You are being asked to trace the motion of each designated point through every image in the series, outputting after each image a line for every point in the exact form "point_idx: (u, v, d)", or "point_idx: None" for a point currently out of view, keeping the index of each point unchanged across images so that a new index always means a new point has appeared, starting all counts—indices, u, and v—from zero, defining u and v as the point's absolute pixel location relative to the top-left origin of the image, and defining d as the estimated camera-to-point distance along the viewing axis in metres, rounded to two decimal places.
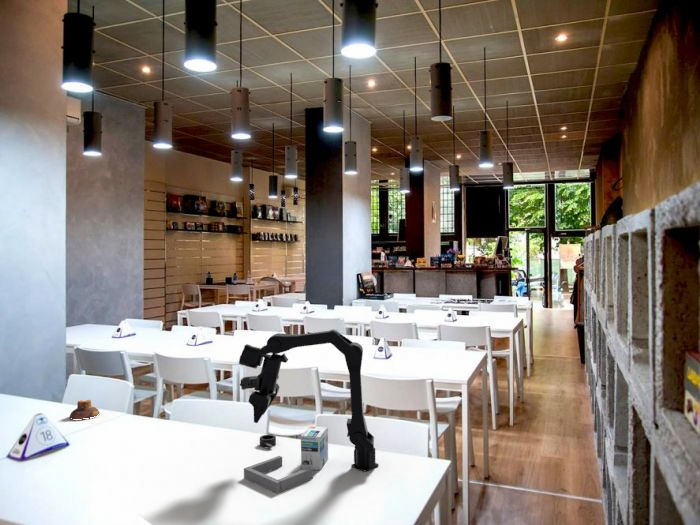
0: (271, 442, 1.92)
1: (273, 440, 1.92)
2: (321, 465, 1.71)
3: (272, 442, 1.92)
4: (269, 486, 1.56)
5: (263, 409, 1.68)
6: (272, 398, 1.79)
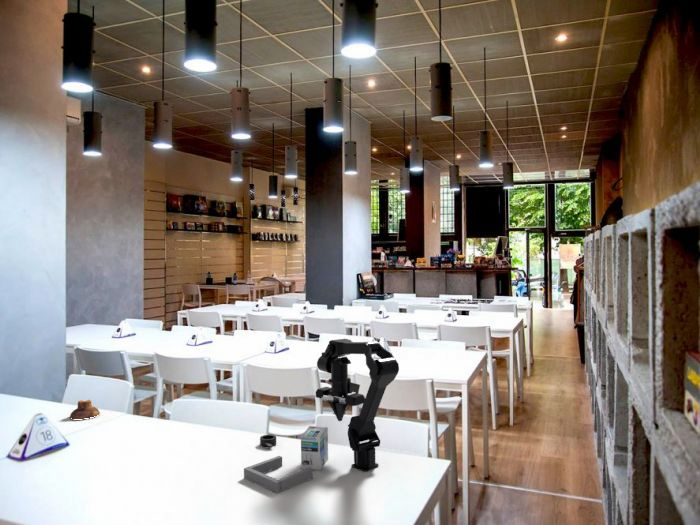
0: (271, 442, 1.92)
1: (273, 440, 1.92)
2: (321, 465, 1.71)
3: (272, 442, 1.92)
4: (269, 486, 1.56)
5: None
6: None
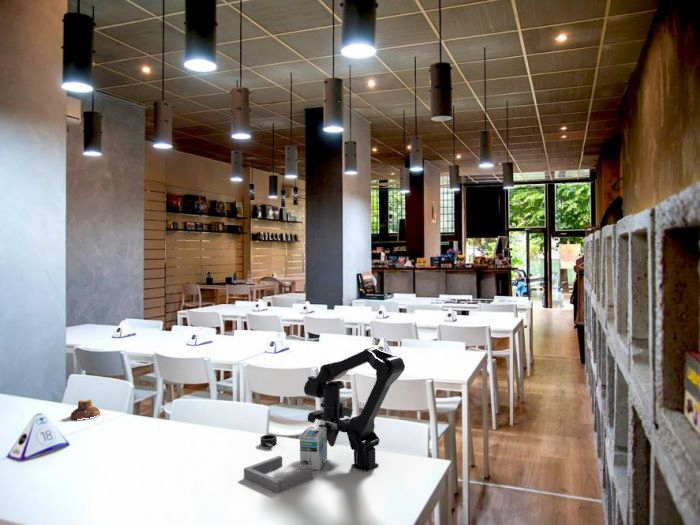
0: (272, 442, 1.92)
1: (274, 440, 1.92)
2: (320, 465, 1.71)
3: (273, 442, 1.92)
4: (269, 486, 1.56)
5: None
6: None
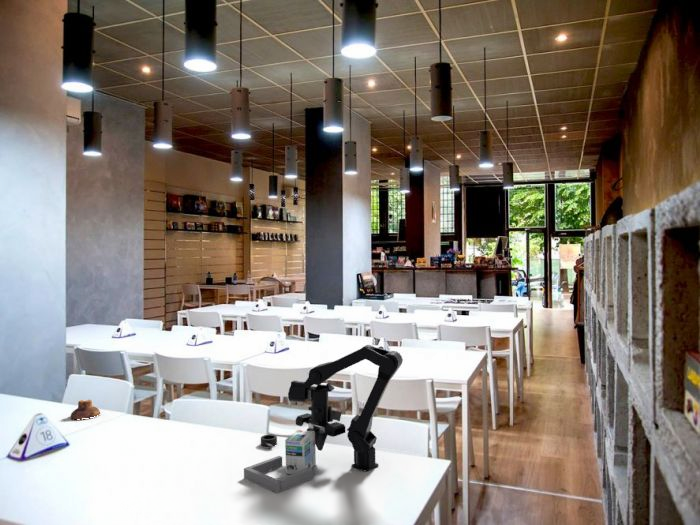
0: (272, 442, 1.92)
1: (274, 440, 1.92)
2: None
3: (273, 442, 1.92)
4: (269, 486, 1.56)
5: None
6: None
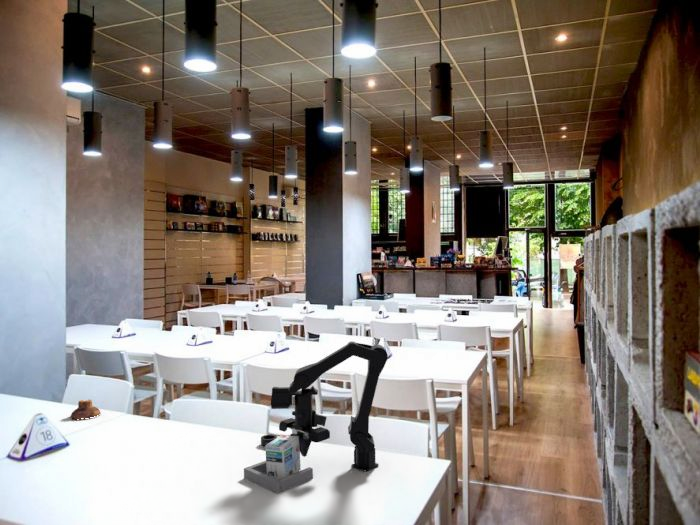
0: None
1: None
2: None
3: None
4: (269, 486, 1.56)
5: None
6: None
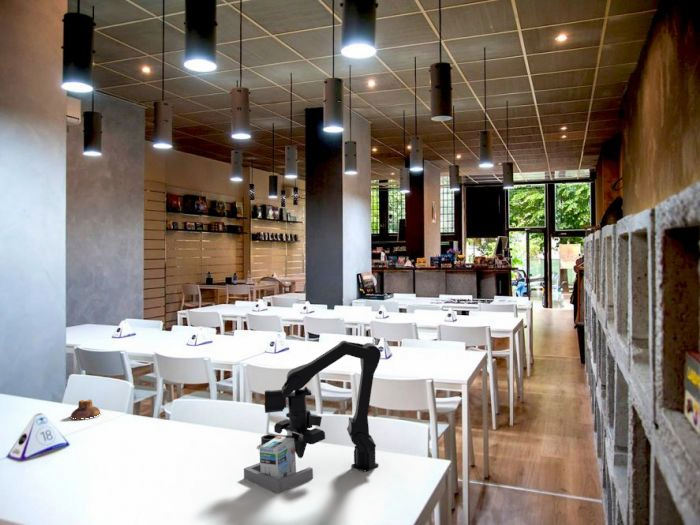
0: None
1: None
2: None
3: None
4: (269, 486, 1.56)
5: None
6: None
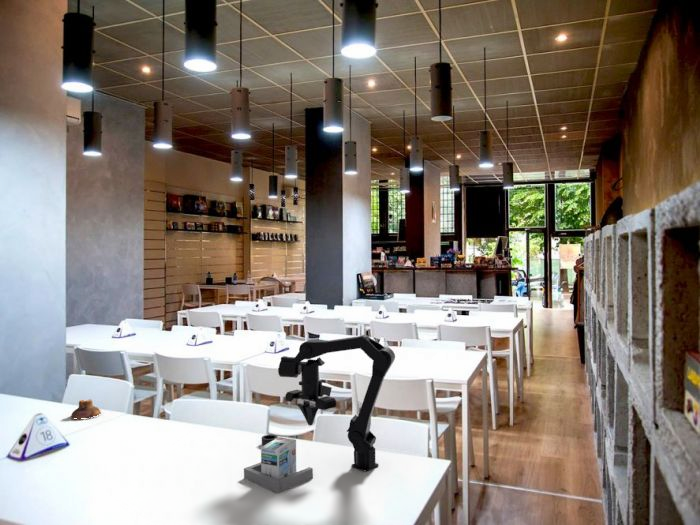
0: None
1: None
2: None
3: None
4: (269, 486, 1.56)
5: None
6: None
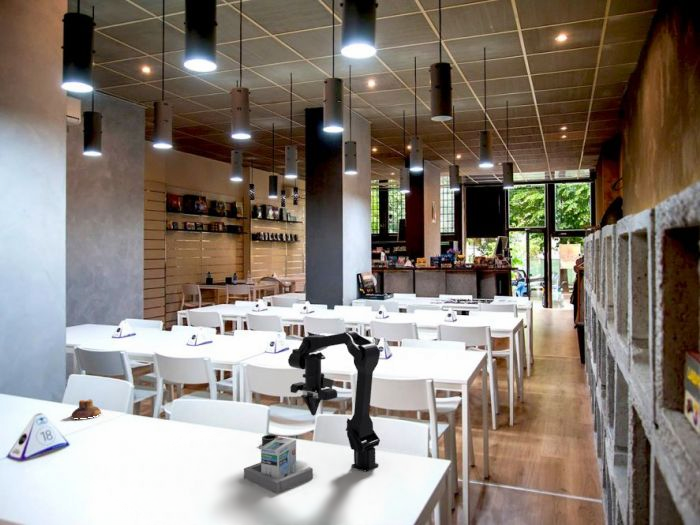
0: None
1: None
2: None
3: None
4: (269, 486, 1.56)
5: None
6: None
